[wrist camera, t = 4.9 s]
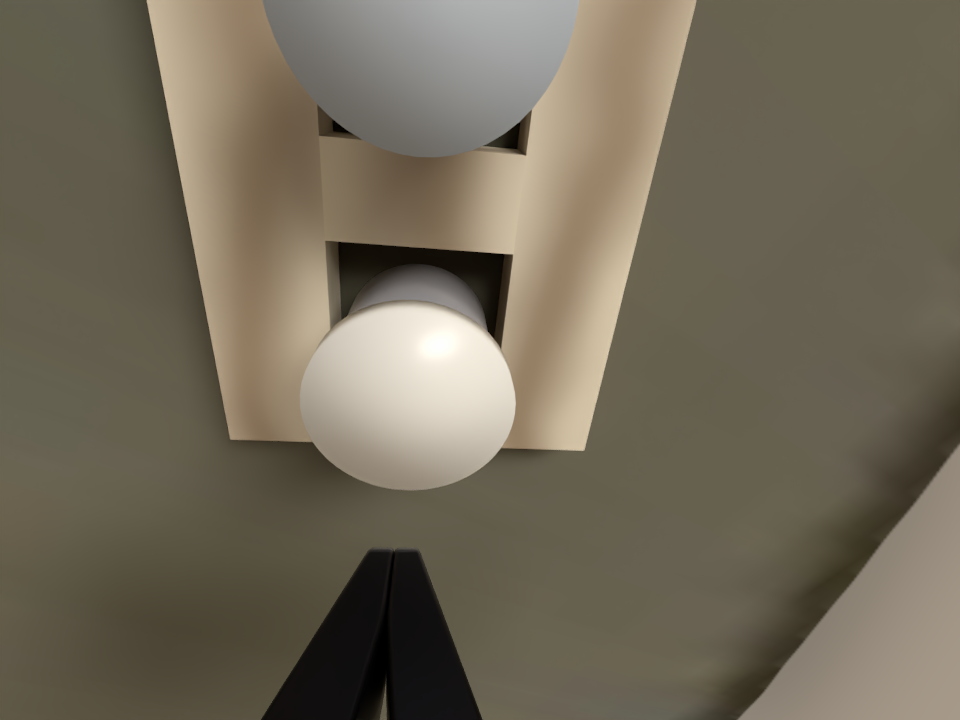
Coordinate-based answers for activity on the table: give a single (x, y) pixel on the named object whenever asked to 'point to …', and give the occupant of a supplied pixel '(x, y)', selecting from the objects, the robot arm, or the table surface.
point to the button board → (414, 206)
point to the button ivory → (409, 383)
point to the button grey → (424, 65)
